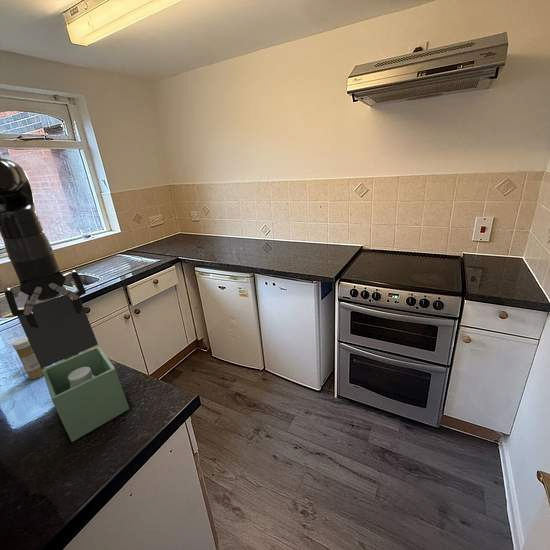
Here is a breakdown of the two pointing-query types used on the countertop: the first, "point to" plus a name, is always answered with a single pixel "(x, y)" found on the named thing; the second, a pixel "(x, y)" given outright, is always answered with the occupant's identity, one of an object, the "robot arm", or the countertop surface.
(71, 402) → the mint green storage bin
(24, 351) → the sprinkles bottle
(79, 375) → the pill bottle
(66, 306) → the pod lid
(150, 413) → the countertop surface
